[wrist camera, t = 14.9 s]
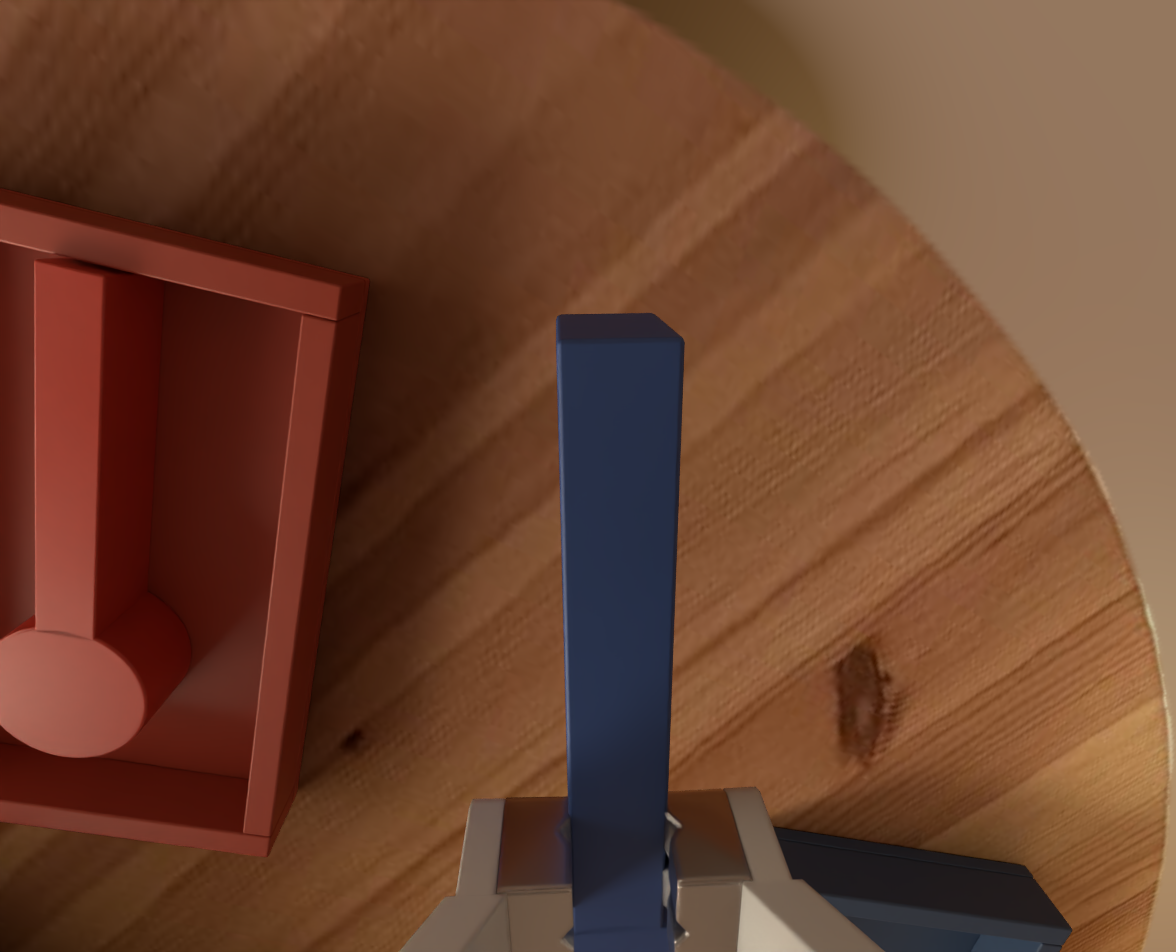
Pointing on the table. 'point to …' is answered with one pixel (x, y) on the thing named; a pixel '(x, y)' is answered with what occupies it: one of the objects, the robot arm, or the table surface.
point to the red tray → (196, 523)
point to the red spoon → (92, 520)
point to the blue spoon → (618, 614)
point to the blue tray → (926, 896)
